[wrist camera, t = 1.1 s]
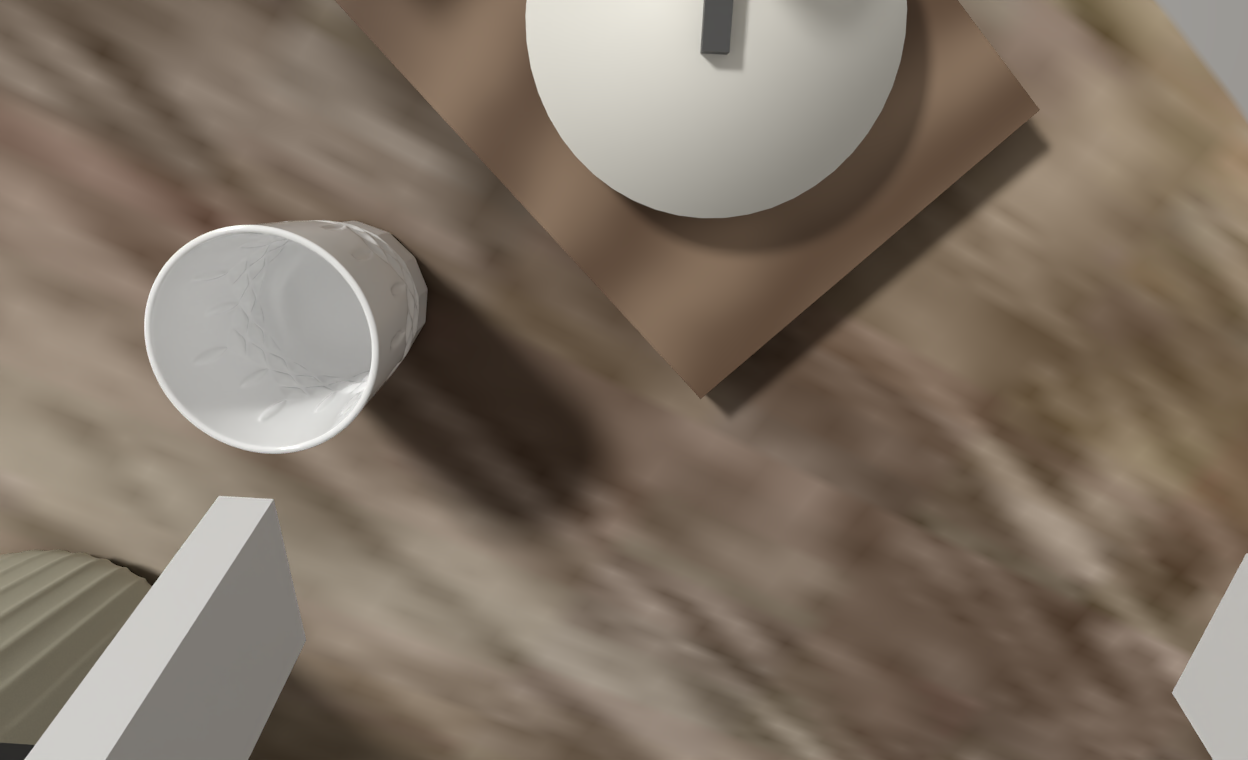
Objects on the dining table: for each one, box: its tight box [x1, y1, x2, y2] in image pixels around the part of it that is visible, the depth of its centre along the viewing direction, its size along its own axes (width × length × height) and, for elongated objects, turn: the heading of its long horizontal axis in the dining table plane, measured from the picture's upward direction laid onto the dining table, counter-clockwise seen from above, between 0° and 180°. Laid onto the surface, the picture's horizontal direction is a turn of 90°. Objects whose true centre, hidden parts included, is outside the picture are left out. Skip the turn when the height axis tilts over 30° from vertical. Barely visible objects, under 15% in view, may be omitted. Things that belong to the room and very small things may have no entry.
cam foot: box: [525, 0, 907, 218], centre depth 29 cm, size 14×14×8 cm
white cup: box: [144, 220, 428, 454], centre depth 33 cm, size 8×8×10 cm
